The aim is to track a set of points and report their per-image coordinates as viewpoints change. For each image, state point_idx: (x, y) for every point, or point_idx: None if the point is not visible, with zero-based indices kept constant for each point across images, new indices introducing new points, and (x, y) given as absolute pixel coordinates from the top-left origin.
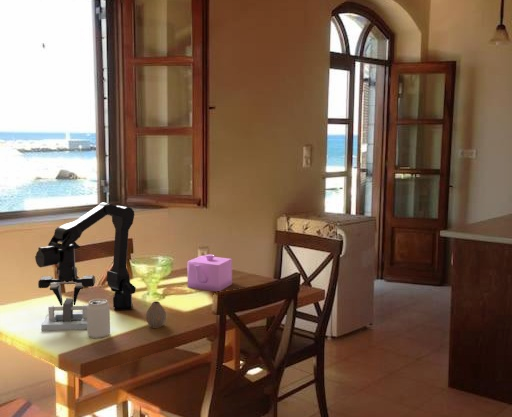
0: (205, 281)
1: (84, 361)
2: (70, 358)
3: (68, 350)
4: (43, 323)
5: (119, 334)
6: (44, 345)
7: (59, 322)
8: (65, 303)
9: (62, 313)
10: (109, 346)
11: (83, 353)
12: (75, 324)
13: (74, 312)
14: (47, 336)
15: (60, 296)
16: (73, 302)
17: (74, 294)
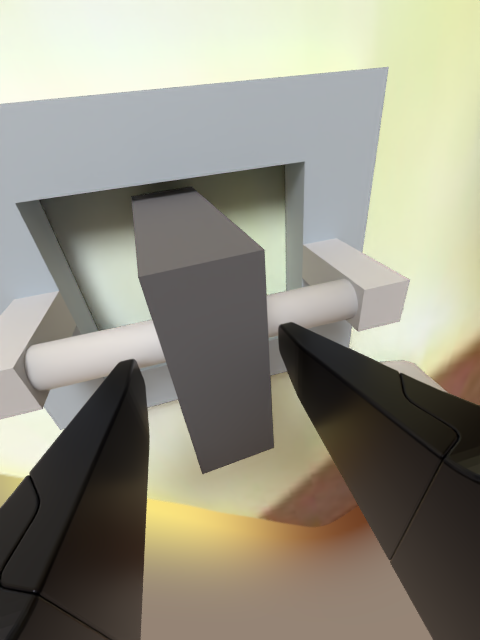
0: None
1: (329, 520)
2: (294, 522)
3: (279, 498)
4: (56, 409)
5: (444, 369)
6: (185, 499)
7: (163, 373)
8: (217, 449)
9: (64, 148)
10: None
11: (323, 497)
12: (271, 371)
13: (192, 104)
14: (152, 445)
15: (135, 531)
16: (292, 383)
17: (379, 524)
